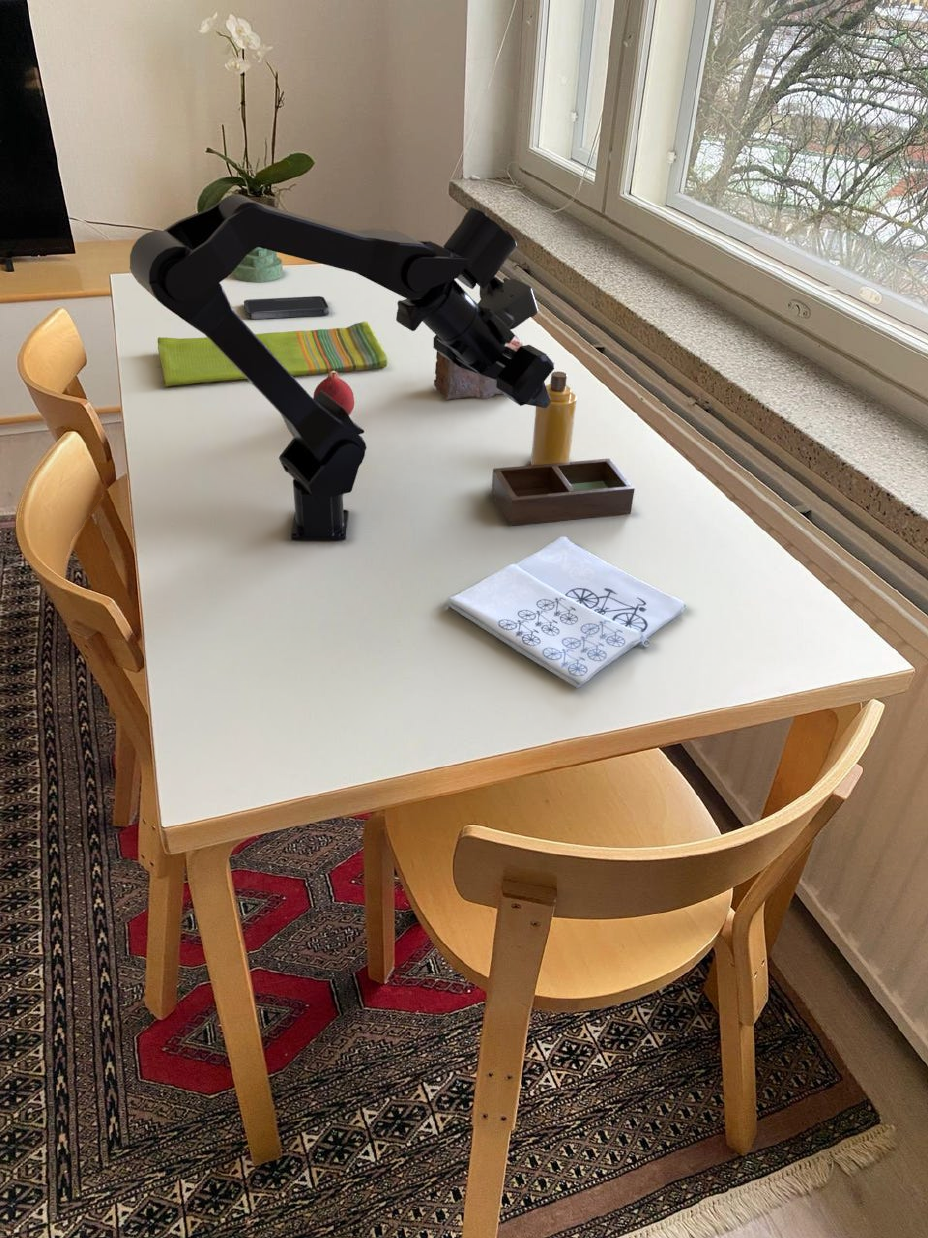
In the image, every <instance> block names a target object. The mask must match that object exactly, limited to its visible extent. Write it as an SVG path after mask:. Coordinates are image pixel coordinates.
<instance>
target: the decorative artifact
mask: <svg viewBox="0 0 928 1238" xmlns="http://www.w3.org/2000/svg"><path fill="white" fill-rule="evenodd" d="M283 270H284V269H283V260H282V258H280V257H278V256H277V252H275V251H271V250H267V249H263V248H259V247H257V248H256V249H254V250H253V251H251V252H250V253H248V254H247V255H246V257H245V258H244V259H243V260H242V261H241V262H240V264H239V265H238V266H237V267H236V268H235V270H234V271H233V272H232V276H233V278H235V279H237V280H239V281H243V282H247V283H265V282H272V281H276V280H279V279H280V278H282V277H283V275H284V271H283Z"/></svg>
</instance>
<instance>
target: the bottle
mask: <svg viewBox="0 0 928 1238" xmlns="http://www.w3.org/2000/svg"><path fill="white" fill-rule="evenodd" d="M567 376H568V374H567V373H566V372H564V371H552V372H551V373H550V382H549V384H545V386H546V388H547V391H548V394H549V397H550V399H551V403H550V405H549V406H548V407H547V408H541V407H536V406H535V411H534V412H535V413H534V424H533V435H532V437H533V438H532V445H531V456H530V465H541V464H553V463H564V462H570V460H571V459H570V457H571V450H572V449H571V448H572V441H573V432H574V424H575V417H576V416H575V415H576V407H577V399H578V398H577V395H576V394H575V393H573V392H572V388H571V387H570V386H568V385H567V378H568V377H567Z"/></svg>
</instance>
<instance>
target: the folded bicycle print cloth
mask: <svg viewBox="0 0 928 1238" xmlns="http://www.w3.org/2000/svg"><path fill="white" fill-rule="evenodd" d="M444 603H445V605H447V606H448V607H449V608H450V609H452V610H453V611H455V612H457V613H458V614H459V615H461V616H463V617H465V618H466V619H468V620H469V621H471V622H472V623H474V624H475V625H477V626H478V627H480V628H482V629H483V630H484V631H486V632H488V633H489V634H491V635H492V636H494V637H495V638H497V639H498V640H500V641H501V642H503V643H504V644H506V645H507V646H509V647H510V648H512V649H514V650H515V651H517V652H518V653H519V654H521V655H523V656H524V657H526V658H528V659H529V660H531V661H532V662H534V663H536V664H537V665H539V666H541V668H544V669H546V670H547V671H549V672H550V673H551V674H554V675H555V676H557V677H558V678H560V679H561V680H563V681H564V682H566V683H568V684H569V685H571V686H573V687H575V688H576V689H579V688H581V687H582V686H583V685H584V684H585V683H587V682H588V681H589V680H590V679H592V678H594V676H596V675H597V674H598V673H599V672H600V671H601V670H603V669H604V668H606V667H607V666H610V664H612V663H613V662H615V661H616V660H617V659H619V658H620V657H621V656H623V655H624V654H626V653H627V652H629V651H630V650H631V649H633V648H634V647H636V646H637V645H638V644H640V643H641V645H642V646H643V647H644V648H648V647H649V646H650V645H651V643H650V640H649V639H648V638H649V637H650V636H651V635H653V634H654V633H656V632H657V631H658V630H660V629H661V628H663V626H665V625H666V624H667V623H670V621H672V620H674V619H675V618H676V617H677V616H679V615H680V614H681V613H682V612H683V611H684V610H685V608H686V606H687V603H686V602H685V601H684V600H683V599H681V598H677V597H674V596H673V595H670V594H667V593H666V592H664V591H662V590H660V589H658V588H656V587H654V586H653V585H650V584H648V583H646V582H645V581H643V580H641V579H639V578H637V577H635V576H633V575H631V574H629V573H627V572H625V571H624V570H622V569H620V568H618V567H616V566H615V565H613V564H610V563H609V562H606V561H605V560H603V559H601V558H599V557H597V556H596V555H594V554H593V553H592V552H591V553H590V552H589V551H587V549H584V548H583V547H581V546H579V545H578V544H576V543H574V542H572V541H570V539H569V538H568V537H566V536H565V535H562V536H559V537H558V538H556V539H555V540H554V541H553V542H551V543H549V544H548V545H546V546H544V547H543V548H541V549H540V550H538V551H537V552H535V553H532V554H531V555H529V556H526V557H525V558H523V559H521V560H519V561H517V562H515V563H510V564H507V565H505V566H504V567H503V568H501V569H500V570H498V571H496V572H494V573H492V574H491V575H489V576H487V577H485V578H484V579H482V580H481V581H479V582H478V583H476V584H474V585H472V586H471V587H468V588H466V589H464V590H462V591H460V592H459V593H458V594H456V595H452V596H450V597H448V598H447V600H446V601H445V602H444ZM645 642H646V643H647V645H645Z"/></svg>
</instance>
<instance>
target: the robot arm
mask: <svg viewBox="0 0 928 1238" xmlns="http://www.w3.org/2000/svg"><path fill="white" fill-rule="evenodd" d="M257 247H259V248H263V249H267V250H271V251H275V252H276V253H279V254H283V255H287V256H290V257H294V258H298V259H302V260H306V261H310V262H313V263H317V264H321V265H324V266H329V267H332V268H335V269H336V268H337V269H340V270H344V271H348V272H352V273H355V274H357V275H359V276H361V277H363V278H365V279H367V280H369V281H371V282H373V283H375V284H376V285H379V286H381V287H382V288H384V289H386V290H388V291H391V292H392V293H395V294H397V295H398V296H400V297H403V298H404V299H402V300H401V299H400V300H397V302H396V305H397V311H396V317H395V320H396V322H397V323H398V324H400V325H402V326H403V327H404V328H406V329H408V330H409V331H411V332H415V331H416V330H417V329H418V328H419V326H420V325H421V324H422V323H423V324H424V325H425V326H427V328H429V330H430V331H432V333H433V334H435V335H434V337H433V346H432V347H433V349H434V350H435V351H436V352H437V351H438V352H439V353H440V354H441V355H442V356H443V357H445V358H446V359H448V360H449V361H451V362H453V363H454V364H456V365H457V366H459V367H461V368H464V369H466V370H469V371H472V372H475V373H478V374H480V375H483V376H486V377H489V378H492V379H495V380H497V381H496V388H497V389H498V390H499V391H500V392H501V393H502V394H503V395H504V396H505V397H506V398H507V399H509V400H511V401H512V402H514V403H515V404H517V405H519V406H520V407H521V406H525V405H527V406H533V407H535V408H536V407H541V408H547V407H548V406H549V405H550V403H551V399H550V397H549V394H548V391H547V388H546V383H545V381H546V380H547V379H548V377H549V376H551V374H552V373H553V372H554V370H555V362H554V360H552V359H551V358H550V356H549V355H548V354H547V353H546V352H544V351H542V350H540V349H538V348H536V347H534V346H533V345H531V344H526V345H524V346H520V348H519V349H518V350H517V351H515V350H513V349H511V348H509V347H508V346H506V345H505V344H506V343H508V344H509V343H510V342H511V341H512V339H513V338H514V337H515V335H516V334H515V333H514V332H513V331H512V330H514V329H516V328H518V327H519V326H520V325H522V324H523V323H524V322H525V321H527V320H529V319H530V318H533V317H535V316H536V315H537V314H538V313H539V308H538V305H537V302H536V299H535V295H534V292H533V288H532V287H531V286H530V285H529V284H526V283H524V282H523V281H520V280H519V279H517V278H508V277H504V278H502V280H501V279H500V278H499V277H497V276H496V275H497V274H498V273H499V271H500V269H502V267H503V266H504V265H505V263H506V262H507V260H509V258H510V257H511V255H512V254H513V253H514V252H515V250H516V249H517V247H518V244H517V241H516V239H515V238H514V237H513V235H512V234H511V233H510V232H509V231H508V230H506V229H504V228H503V227H501V226H500V225H499V224H498V223H497V222H496V221H494V220H493V219H492V218H491V217H489V216H487V214H486V213H485V212H484V211H483V210H482V209H479V208H477V207H475V206H470V208H469V209H468V210H467V211H466V213H465V214H464V216H463V218H462V220H461V222H460V224H459V225H458V226H457V227H456V229H455V230H454V231H453V233H452V234H451V235H450V236H449V238H448V239H447V241H446V242H445V243H444V245H443V246H442V245H439V244H438V243H436V242H433V241H431V240H417V239H415V238H413V237H410V236H409V235H406V234H404V233H403V232H401V231H398V230H389V229H378V228H368V229H367V228H366V229H349V228H346V227H342V226H339V225H336V224H332V223H329V222H325V221H321V220H319V219H315V218H311V217H309V216H305V215H301V214H298V213H295V212H291V211H288V210H285V209H282V208H279V207H274V206H270V205H267V204H264V203H262V202H258V201H254V200H252V199H251V198H249V197H247V196H245V195H243V194H236V193H234V194H229V195H228V196H226V197H224V198H223V199H221V200H220V201H218V202H217V203H214V204H213V205H212V206H210V207H208V208H206V209H204V210H201V211H199V212H196V213H194V214H191V215H189V216H187V217H184V218H181V219H179V220H178V221H176V222H174V223H172V224H171V225H170V226H168V227H167V228H164V229H163V230H153V231H149V232H145V234H143V235H141V236H140V237H139V238H138V239H136V241H135V243H134V244H133V246H132V247H131V251H130V255H129V270H130V273H131V274H132V276H133V278H134V279H135V280H136V282H137V283H138V284H139V285H140V286H142V288H144V290H146V291H147V292H148V293H149V294H150V295H151V296H152V297H154V299H156V301H158V302H159V304H160V305H162V306H163V307H165V308H166V309H167V310H170V311H171V312H172V313H173V314H174V315H176V316H177V317H179V318H180V319H181V320H183V321H184V322H185V323H187V324H188V325H190V326H191V327H193V328H194V329H195V330H198V331H199V332H200V333H202V334H203V335H205V336H206V337H208V338H209V339H210V340H211V342H212V343H213V344H214V345H215V346H216V347H217V348H218V349H219V350H220V351H221V352H222V353H223V354H224V355H225V356H226V357H227V358H228V359H229V360H230V361H231V362H232V363H233V364H234V366H235V367H236V368H237V369H238V370H239V371H240V372H241V373H242V374H243V375H244V376H245V377H246V378H247V379H246V380H248V381H249V383H251V385H252V386H254V387H255V389H256V390H257V391H258V392H259V393H260V394H261V395H262V396H263V397H264V398H265V399H266V400H267V401H268V402H269V403H270V405H271V406H272V407H274V408H275V410H276V411H277V412H279V414H280V416H281V417H282V419H283V421H284V423H285V426H286V428H287V430H288V431H289V433H290V434H291V436H292V437H293V438H292V439H291V440H290V441H289V443H288V444H287V446H286V447H285V448H284V449H283V451H282V452H281V454H279V456H278V460H279V462H280V465H281V466H282V468H283V470H284V472H286V473H288V474H289V475H290V476H291V478H293V480H292V488H293V489H292V490H293V501H294V514H293V520H292V526H291V530H290V539H291V540H292V541H345V540H347V535H348V525H349V515H350V514H349V513H350V512H349V510H348V509H344V495H345V494H349V493H351V492H353V488H354V484H355V481H356V478H357V475H358V471H359V468H360V466H361V465H362V463H363V461H364V459H365V457H366V456H365V455H366V450H367V443H366V441H365V439H364V438H363V437H362V434H364V433H365V429H363V428H362V427H361V426H359V425H358V424H357V423H356V422H355V421H354V420H352V418H351V417H350V415H348V414H347V412H346V411H345V409H344V408H343V407H342V406H340V405H339V404H338V403H337V402H335V401H334V400H333V399H332V398H331V397H329V396H328V395H327V394H326V393H324V392H323V391H322V390H320V391H319V392H318V393H317V395H316V396H315V397H314V396H313V397H312V396H311V395H310V394H309V393H308V392H307V391H306V390H305V388H304V387H303V386H302V385H301V383H300V382H298V380H297V379H295V377H294V376H292V375H291V374H290V373H289V372H288V371H287V370H286V368H285V367H284V366H283V365H282V364H281V363H280V362H279V361H278V360H277V359H276V357H275V356H274V355H273V354H272V353H271V352H270V351H269V350H268V349H267V347H266V346H265V345H264V344H263V343H262V342H261V341H260V340H259V339H258V337H257V336H256V335H255V334H256V333H255V332H253V331H252V329H250V327H249V326H248V325H247V324H246V323H245V322H244V321H243V319H242V318H241V317H240V316H239V315H238V314H237V313H236V312H235V310H234V309H233V307H232V305H231V302H230V300H229V298H228V296H227V293H226V292H225V289H224V288H223V286H222V284H221V282H222V281H224V280H225V279H227V278H228V277H230V275H231V274H233V271H234V270H235V268H236V267H237V266H238V265H239V264H240V262H241V261H242V260H243V259H244V258H245V257H246V255H247V254H248V253H250V252H251V251H253V250H254V249H256V248H257ZM456 279H457V280H458V281H459V282H460V283H462V284H463V285H464V286H466V287H467V288H469V289H471V290H474V288H475V287H476V286H478V287H479V299H480V300H479V302H476V301H475V300H474V299H473V298H472V297H471V296H470V295H469V294H468V292H466V290H465V289H464V288H463V287H462V286H461V285H460V284H459V282H457V281H456ZM503 354H504V355H503ZM505 355H506V356H507V357H506V356H505ZM508 357H509V358H508ZM510 358H511V359H510ZM313 398H314V399H313Z"/></svg>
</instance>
